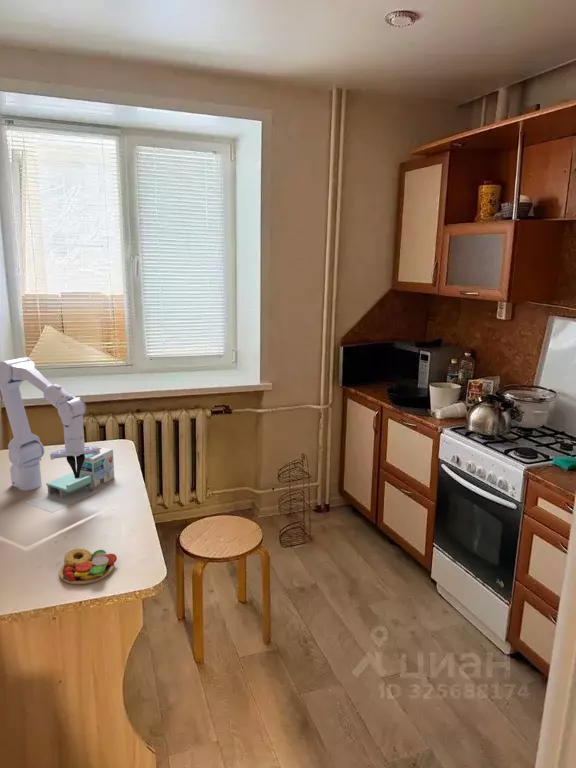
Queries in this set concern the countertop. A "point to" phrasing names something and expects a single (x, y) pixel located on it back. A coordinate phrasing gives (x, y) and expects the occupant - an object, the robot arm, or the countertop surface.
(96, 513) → the countertop surface
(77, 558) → the toy food set
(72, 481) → the cover
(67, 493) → the board
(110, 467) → the light bulb box
